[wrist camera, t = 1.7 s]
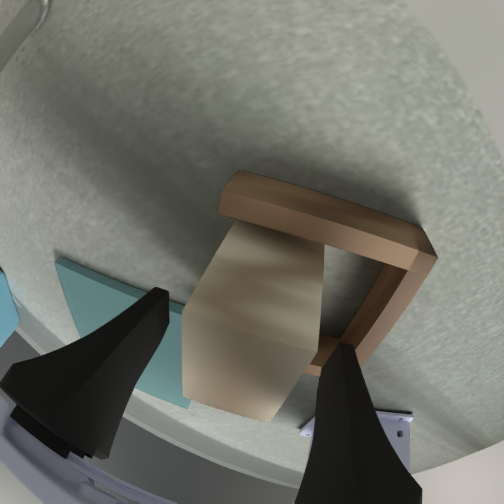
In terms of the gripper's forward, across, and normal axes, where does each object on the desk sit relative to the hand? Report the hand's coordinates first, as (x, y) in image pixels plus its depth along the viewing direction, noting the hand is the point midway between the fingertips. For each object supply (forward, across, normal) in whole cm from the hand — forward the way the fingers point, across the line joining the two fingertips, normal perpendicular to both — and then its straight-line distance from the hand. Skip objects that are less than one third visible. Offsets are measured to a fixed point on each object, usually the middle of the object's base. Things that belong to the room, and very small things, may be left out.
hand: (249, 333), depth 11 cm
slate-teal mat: (+5, +10, +13) cm, 17 cm away
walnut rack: (+5, -2, 0) cm, 5 cm away
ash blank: (+5, 0, 0) cm, 5 cm away
